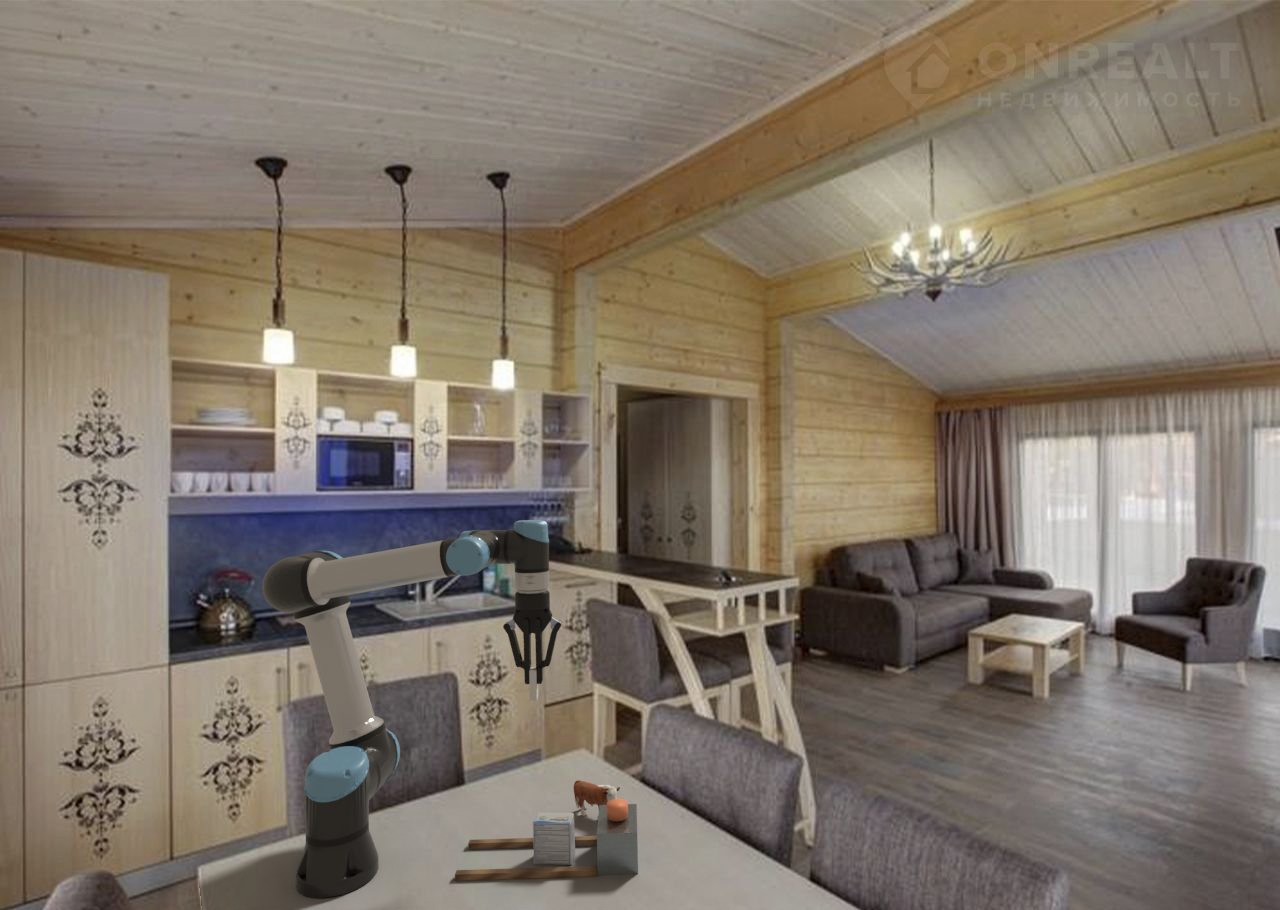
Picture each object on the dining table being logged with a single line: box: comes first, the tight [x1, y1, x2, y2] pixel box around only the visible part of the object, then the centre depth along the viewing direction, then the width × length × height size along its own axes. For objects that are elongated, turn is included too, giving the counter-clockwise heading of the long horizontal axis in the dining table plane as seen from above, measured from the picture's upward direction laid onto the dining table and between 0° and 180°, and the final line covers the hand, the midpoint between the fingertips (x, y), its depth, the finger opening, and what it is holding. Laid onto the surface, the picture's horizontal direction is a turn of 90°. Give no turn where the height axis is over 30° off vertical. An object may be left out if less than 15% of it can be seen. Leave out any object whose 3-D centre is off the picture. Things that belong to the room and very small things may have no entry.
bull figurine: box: [573, 779, 621, 818], centre depth 162 cm, size 4×13×8 cm, turn 53°
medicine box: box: [532, 812, 576, 866], centre depth 144 cm, size 8×4×9 cm, turn 85°
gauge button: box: [607, 798, 629, 821], centre depth 144 cm, size 4×4×6 cm
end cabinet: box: [596, 803, 639, 876], centre depth 144 cm, size 8×12×8 cm, turn 1°
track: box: [454, 835, 599, 882], centre depth 144 cm, size 28×13×1 cm, turn 91°
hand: (534, 698), depth 153 cm, fingers closed
